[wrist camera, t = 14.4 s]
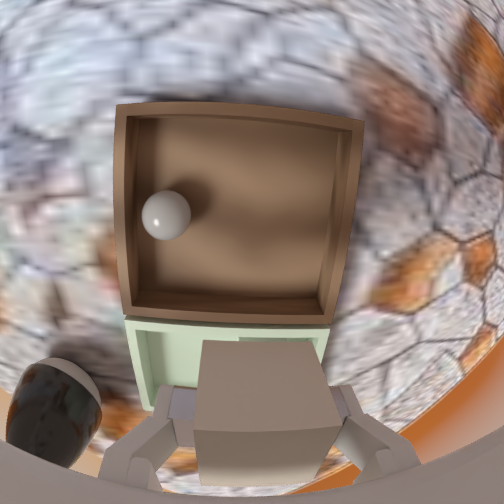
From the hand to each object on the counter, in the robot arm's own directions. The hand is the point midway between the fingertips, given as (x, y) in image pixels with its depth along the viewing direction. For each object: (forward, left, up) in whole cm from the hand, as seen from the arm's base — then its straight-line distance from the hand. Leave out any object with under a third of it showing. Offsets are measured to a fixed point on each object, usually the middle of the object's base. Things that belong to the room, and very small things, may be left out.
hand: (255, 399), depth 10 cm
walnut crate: (-4, -1, -14) cm, 15 cm away
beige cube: (0, 0, -1) cm, 1 cm away
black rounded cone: (+16, -19, -15) cm, 29 cm away
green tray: (+10, -1, -14) cm, 17 cm away
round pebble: (-4, -5, -14) cm, 15 cm away
